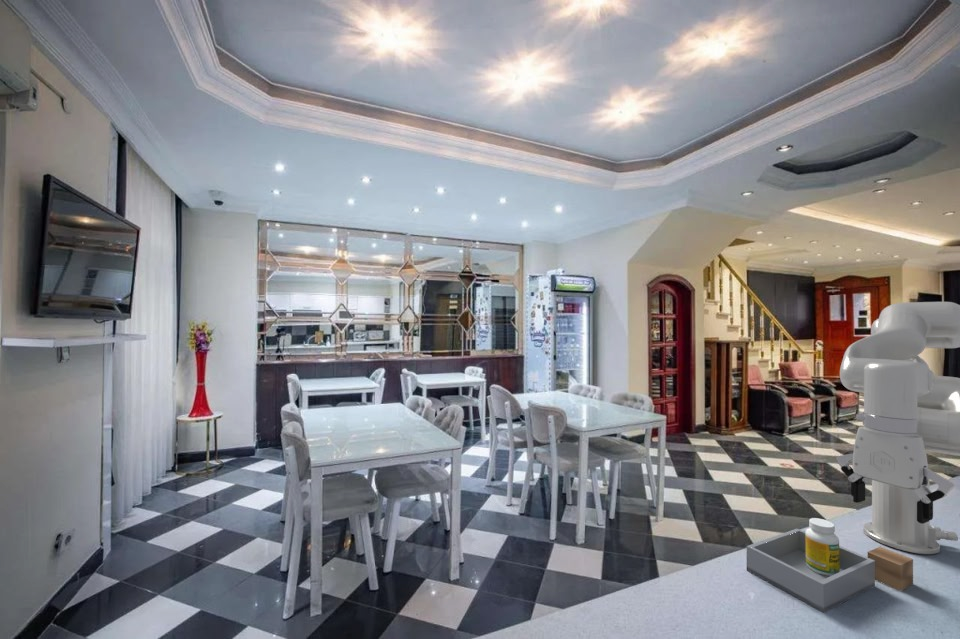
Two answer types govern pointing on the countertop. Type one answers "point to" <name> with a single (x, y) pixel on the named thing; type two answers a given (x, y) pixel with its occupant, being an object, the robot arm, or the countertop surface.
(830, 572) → the supplement bottle
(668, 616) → the countertop surface
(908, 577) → the walnut cube
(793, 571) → the tote
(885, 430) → the robot arm
